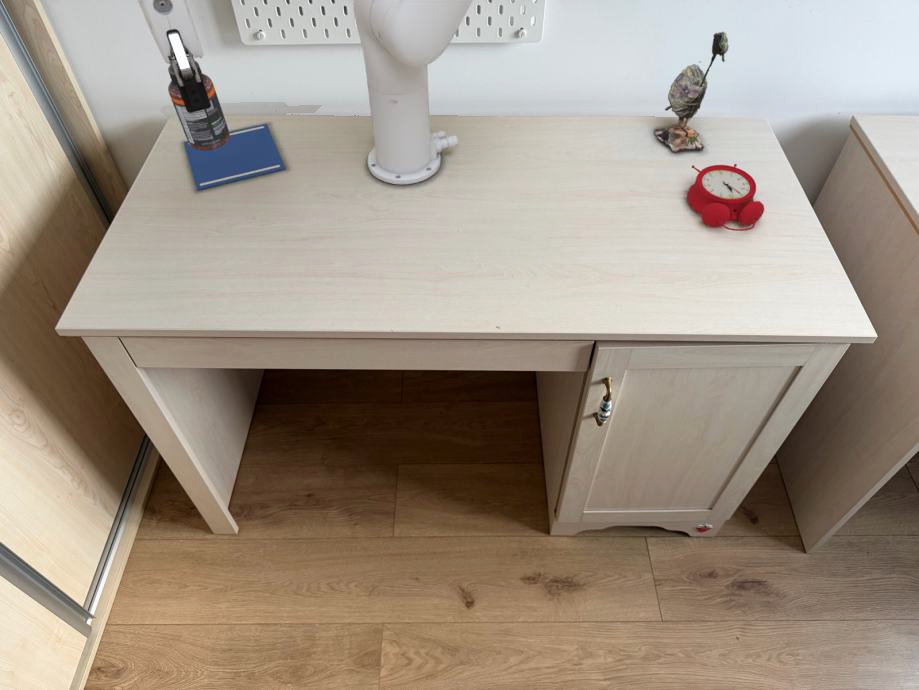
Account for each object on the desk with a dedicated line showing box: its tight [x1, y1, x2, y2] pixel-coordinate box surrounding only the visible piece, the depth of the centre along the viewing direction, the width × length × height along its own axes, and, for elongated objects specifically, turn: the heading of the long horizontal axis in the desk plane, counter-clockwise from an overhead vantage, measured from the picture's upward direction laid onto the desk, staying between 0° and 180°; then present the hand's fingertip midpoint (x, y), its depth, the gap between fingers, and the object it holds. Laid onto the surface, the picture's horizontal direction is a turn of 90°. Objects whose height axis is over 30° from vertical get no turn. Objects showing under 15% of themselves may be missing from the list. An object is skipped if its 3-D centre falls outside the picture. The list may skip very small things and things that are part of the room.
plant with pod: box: [653, 31, 730, 153], centre depth 114 cm, size 8×11×20 cm
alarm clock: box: [686, 163, 765, 232], centre depth 107 cm, size 10×6×15 cm
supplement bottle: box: [167, 60, 230, 151], centre depth 93 cm, size 6×6×11 cm
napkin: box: [183, 123, 286, 191], centre depth 119 cm, size 15×15×1 cm
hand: (194, 96), depth 92 cm, fingers closed on supplement bottle, 5 cm apart
